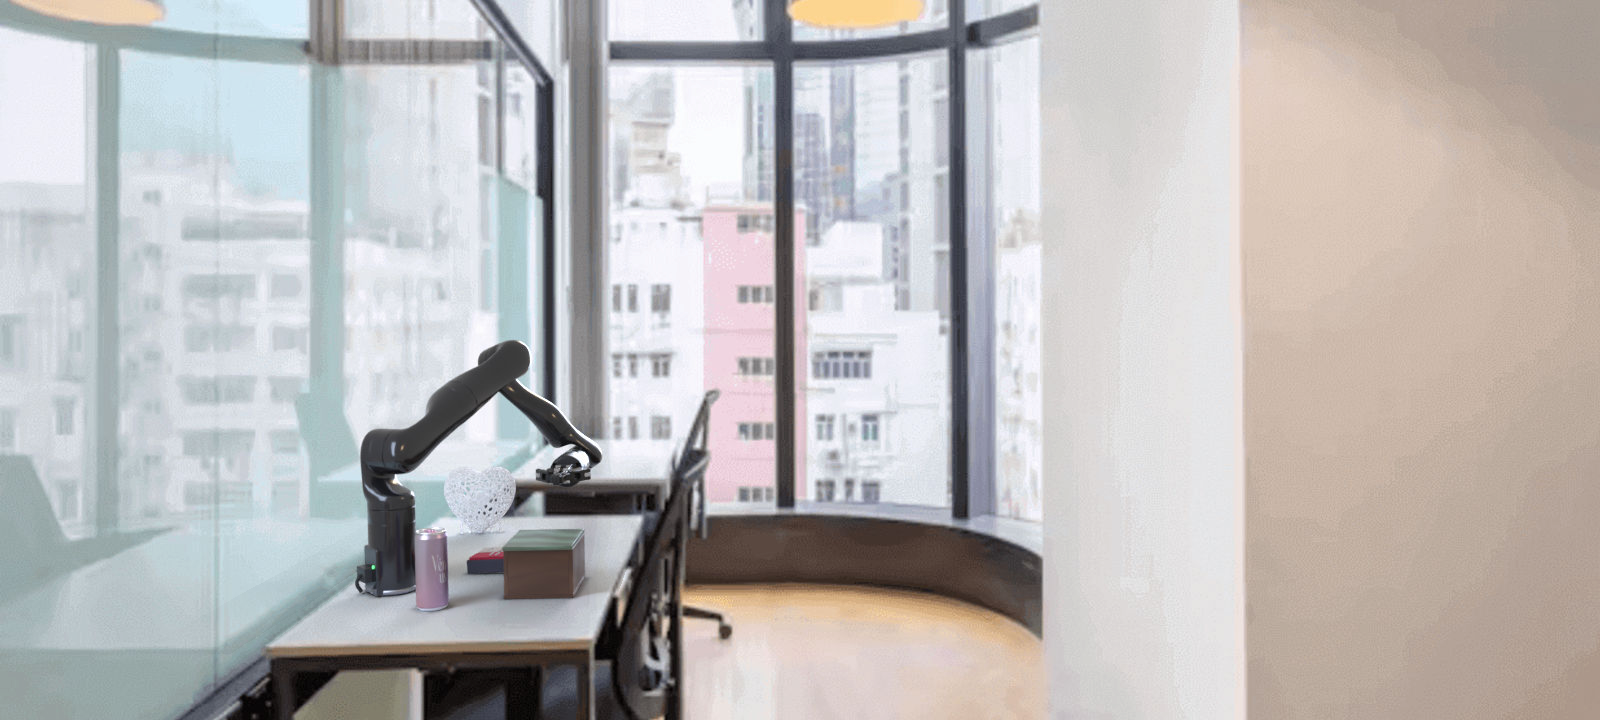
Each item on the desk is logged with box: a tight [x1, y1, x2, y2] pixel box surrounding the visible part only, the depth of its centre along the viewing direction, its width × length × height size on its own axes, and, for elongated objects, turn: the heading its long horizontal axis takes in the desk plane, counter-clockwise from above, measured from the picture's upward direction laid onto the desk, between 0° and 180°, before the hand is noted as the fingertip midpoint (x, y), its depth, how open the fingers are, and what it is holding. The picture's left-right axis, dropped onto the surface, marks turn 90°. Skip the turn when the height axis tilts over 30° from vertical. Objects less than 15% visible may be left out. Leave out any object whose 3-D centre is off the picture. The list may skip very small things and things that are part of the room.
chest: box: [503, 533, 586, 600], centre depth 220 cm, size 16×14×10 cm
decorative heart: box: [443, 466, 517, 535], centre depth 275 cm, size 18×11×17 cm, turn 94°
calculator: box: [466, 546, 504, 575], centre depth 237 cm, size 11×4×15 cm
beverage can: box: [415, 527, 450, 612], centre depth 206 cm, size 6×6×15 cm
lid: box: [501, 528, 585, 551], centre depth 219 cm, size 16×14×1 cm
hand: (556, 480), depth 233 cm, fingers closed
